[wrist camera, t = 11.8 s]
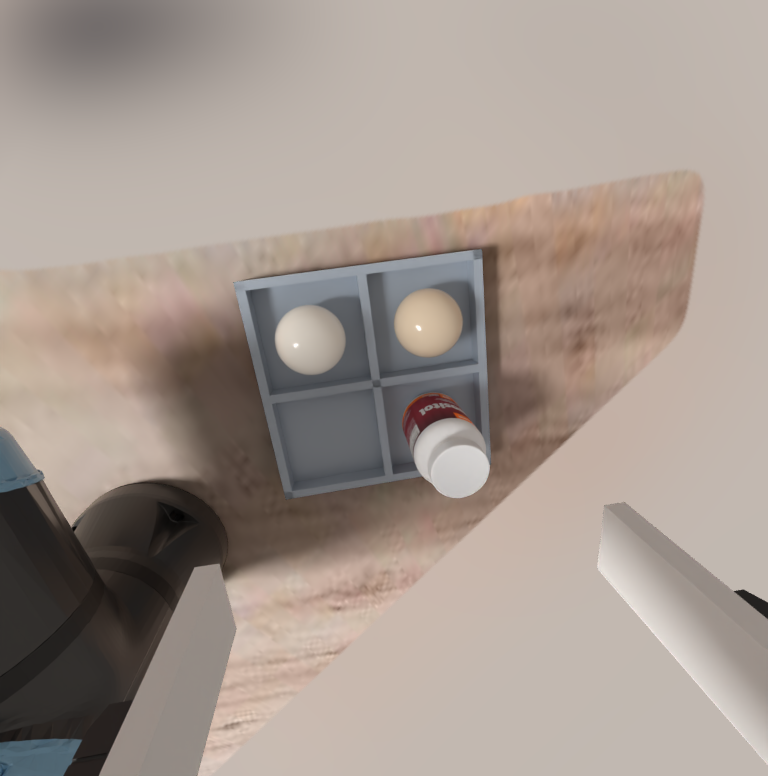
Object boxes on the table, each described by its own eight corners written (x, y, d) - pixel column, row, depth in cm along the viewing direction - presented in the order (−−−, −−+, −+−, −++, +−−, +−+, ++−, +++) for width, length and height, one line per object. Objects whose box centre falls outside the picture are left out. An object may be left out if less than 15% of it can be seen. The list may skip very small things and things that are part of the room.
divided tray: (288, 485, 42) (285, 499, 39) (240, 280, 35) (233, 282, 32) (482, 453, 43) (491, 464, 41) (472, 249, 36) (481, 248, 34)
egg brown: (393, 353, 38) (403, 370, 32) (386, 290, 36) (395, 296, 30) (454, 344, 38) (474, 359, 32) (449, 282, 36) (470, 285, 31)
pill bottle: (464, 393, 40) (509, 439, 29) (453, 447, 42) (491, 509, 31) (405, 386, 39) (429, 432, 28) (396, 442, 41) (415, 505, 30)
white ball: (287, 369, 37) (277, 389, 31) (274, 306, 35) (261, 314, 29) (349, 360, 37) (351, 377, 32) (339, 297, 36) (339, 303, 30)
